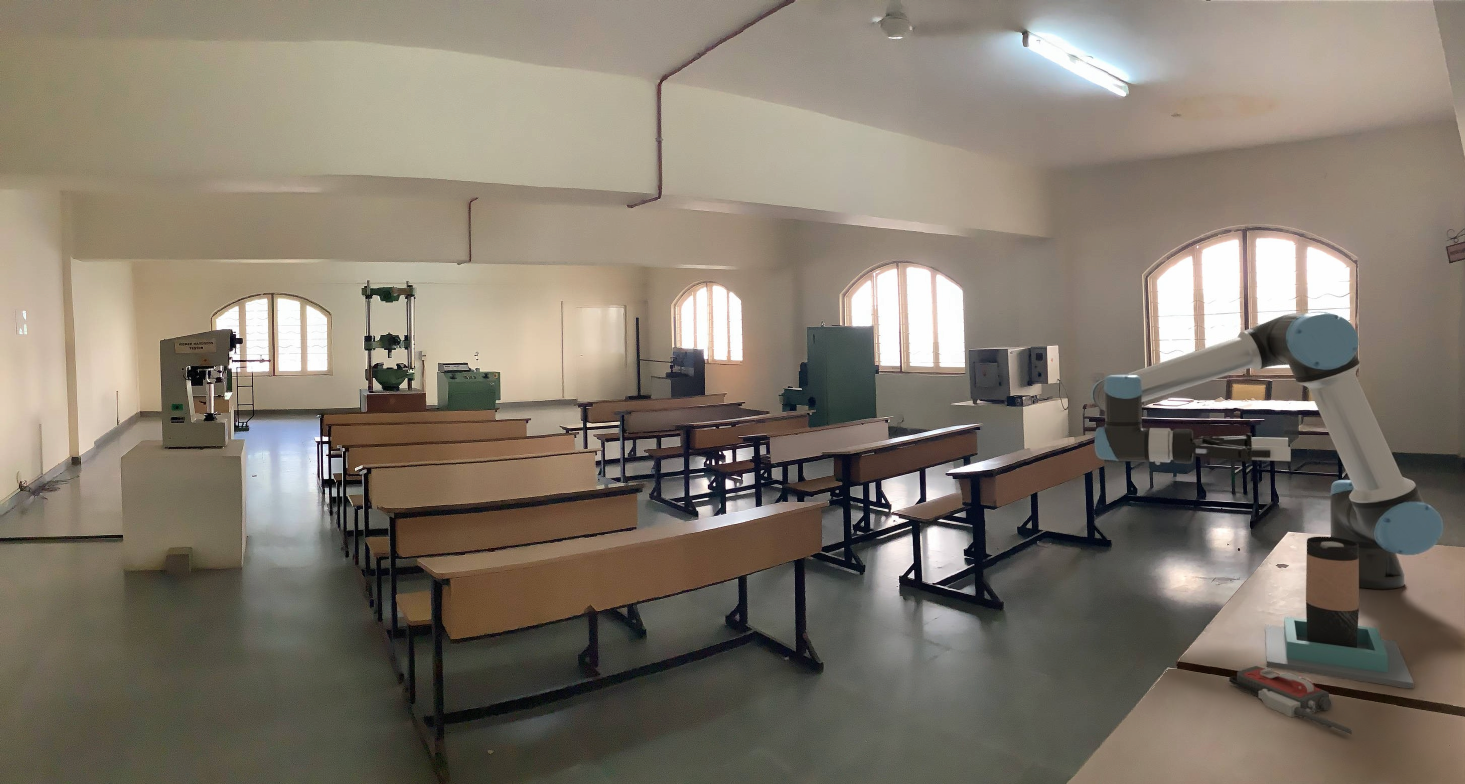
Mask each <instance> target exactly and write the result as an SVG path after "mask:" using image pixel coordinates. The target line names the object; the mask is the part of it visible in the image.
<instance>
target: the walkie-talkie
mask: <svg viewBox="0 0 1465 784" xmlns="http://www.w3.org/2000/svg"><path fill="white" fill-rule="evenodd" d="M1228 682H1229V683H1230V684H1232V685H1234V686H1236V688H1237V689H1238V690H1240V691H1243V692H1245V693H1247V694H1250V695H1252V696H1255V697H1257V698H1259V699H1261V701H1262V703H1263V704H1264V705H1265V706H1266V707H1267V708H1269V709H1272V710H1274V711H1276V712H1279V713H1281V714H1284V715H1286V716H1287V717H1289V718H1294V717H1295V718H1296V717H1300V718H1303V719H1304V718H1305V719H1307V720H1309V721H1312V722H1315V723H1316V724H1319V725H1322V726H1324V727H1327V728H1329V729H1331V728H1334V729H1337V730H1339V731H1341V732H1344V733H1346V734H1348V735H1352V732H1353V731H1352V729H1351V728H1350V727H1347V726H1344V725H1342V724H1340V723H1338V722H1335V721H1332V720H1329V719H1327V718H1325V717H1322V716H1320V715H1317V714H1314V713H1316V712H1320V711H1322V710H1323V711H1326V712H1327V711H1328V710H1330V708H1332V700H1331V698H1330V693H1329V692H1328V691H1326V690H1323V689H1321V688H1318V687H1317V686H1315V684H1314V683H1313V681H1311V680H1309V679H1307V678H1305V677H1300V676H1299V675H1296V674H1293V673H1290V672H1284V673H1278V672H1275V671H1273V668H1272V667H1267V668H1265V667H1261V666H1258V665H1254V666H1251V667H1248V668H1244V669H1239V671H1237V673H1236V676H1229V677H1228Z"/></svg>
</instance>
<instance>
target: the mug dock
mask: <svg viewBox="0 0 1465 784" xmlns="http://www.w3.org/2000/svg"><path fill="white" fill-rule="evenodd" d="M1283 619H1284V621H1283V622H1284V623H1283V624H1284V625H1283V626H1279V625H1273V624H1265V625H1264V626H1265V627H1264V628H1265V629H1264V631H1265V653H1266V657H1265V658H1266V659H1265V660H1266V667H1267V668H1271V669H1279V670H1287V671H1293V672H1294V671H1295V672H1298V673H1299V672H1300V673H1306V674H1314V675H1320V676H1324V677H1325V676H1326V677H1331V678H1332V677H1333V678H1339V679H1345V680H1351V681H1360V682H1366V683H1371V684H1377V685H1378V684H1379V685H1385V686H1390V687H1391V686H1393V687H1398V688H1403V689H1411V690H1414V689H1415V688H1414V687H1415V686H1414V685H1415V684H1414V683H1415V682H1414V681H1413V677H1412V676H1411V674H1410V671H1409V670H1408V667H1407V664H1406V662H1405V659H1404V657H1403V655H1402V652H1401V651H1400V648H1399V646H1398V644H1397V641H1396V640H1388V639H1382V637H1381V633H1380V631H1379V629H1378V628H1377V627H1371V626H1365V625H1358V637H1357V648H1352V647H1344V646H1337V645H1329V644H1322V643H1315V642H1307V619H1306V618H1299V617H1292V616H1291V617H1289V616H1284V617H1283Z"/></svg>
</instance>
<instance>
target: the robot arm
mask: <svg viewBox="0 0 1465 784" xmlns="http://www.w3.org/2000/svg"><path fill="white" fill-rule="evenodd" d="M1358 347H1359V337H1358V332H1357V330H1356V328H1355V327H1354V326H1353V324H1352V323H1351V322H1350V321H1348V320H1347V319H1346V318H1345V317H1342V316H1340V315H1338V314H1335V313H1330V312H1326V311H1311V312H1294V313H1293V312H1292V313H1288V314H1283V315H1280V316H1278V317H1276V318H1273V319H1271V320H1268V321H1266V322H1264V323H1261V324H1258V325H1256V326H1253V327H1251V328H1248V329H1245V330H1242V331H1240V332H1239V333H1238V336H1237V337H1234V338H1232V339H1228V340H1226V341H1223V342H1219V343H1217V344H1214V345H1211V346H1208V347H1204V348H1202V349H1199V350H1196V351H1192V352H1189V353H1187V354H1184V355H1183V354H1182V355H1180V356H1177V357H1174V358H1171V359H1168V360H1165V361H1161V362H1158V363H1156V364H1152V365H1150V366H1147V367H1144V368H1140V369H1137V370H1135V371H1131V372H1128V373H1126V374H1111V375H1108V376H1106V377H1105V378H1104V379H1101V380H1099V381H1098V382H1096V383H1095V384H1094V385H1093V387H1092V388H1091V393H1090V396H1091V400H1092V402H1093V403H1094V405H1096V407H1097V408H1098V409H1100V410H1102V411H1104V418H1105V420H1104V421H1105V423H1104V426H1101V427H1097V428H1096V429H1095V433H1094V434H1095V435H1094V451H1095V455H1096V457H1098V459H1100V460H1107V461H1108V460H1109V461H1116V462H1144V463H1145V462H1148V463H1150V462H1154V464H1155V465H1157V466H1158V465H1161V463H1171V461H1172V462H1173V463H1175V464H1193V461H1194V454H1195V457H1198V458H1212V459H1213V458H1214V459H1223V460H1233V461H1242V462H1245V463H1244V464H1252V461H1275V462H1276V461H1277V462H1291V458H1292V457H1291V453H1292V451H1291V447H1290V446H1289V438H1288V437H1258V436H1257V437H1256V436H1254V437H1252V433H1246V434H1245V435H1239V436H1238V435H1237V436H1235V435H1232V436H1208V435H1207V436H1199V437H1198V438H1197V439H1194V431H1193V430H1192V429H1191V428H1175V429H1173V430H1171V428H1169V427H1168V428H1167V427H1166V428H1165V427H1146V428H1145V427H1143V425H1142V424H1143V420H1142V419H1143V418H1142V417H1143V413H1142V411H1143V410H1142V403H1143V402H1147V401H1149V400H1153V399H1156V398H1159V397H1162V396H1165V395H1169V394H1171V393H1175V392H1178V391H1181V390H1184V389H1188V388H1191V387H1194V386H1197V385H1200V384H1203V383H1206V382H1210V381H1213V380H1216V379H1219V378H1223V377H1225V376H1230V375H1231V374H1236V373H1239V372H1243V371H1245V370H1248V369H1252V370H1254V371H1259V370H1262V369H1267V368H1270V367H1277V366H1288V367H1289V369H1290V370H1291V372H1292V375H1293V376H1294V377H1293V378H1294V380H1295V382H1296V383H1297V384H1299V385H1302V386H1305V387H1307V388H1308V391H1309V392H1310V394H1311V397H1312V398H1313V401H1314V403H1315V406H1316V408H1317V410H1318V413H1319V414H1320V417H1321V419H1322V421H1323V423H1324V426H1325V428H1326V429H1327V432H1328V434H1329V436H1330V438H1331V440H1332V443H1333V445H1334V447H1335V449H1336V452H1337V455H1338V456H1339V458H1340V460H1341V463H1342V465H1343V467H1344V469H1345V471H1346V474H1347V476H1348V478H1349V479H1339V480H1336V481H1333V483H1332V484H1331V487H1330V493H1329V497H1330V537H1336V538H1343V539H1348V540H1352V541H1355V542H1357V543H1358V545H1359V588H1363V589H1372V590H1373V589H1376V590H1377V589H1378V590H1389V589H1390V590H1391V589H1392V590H1393V589H1398V588H1402V587H1403V586H1405V573H1404V570H1403V568H1402V566H1401V565H1402V564H1401V563H1400V560H1399V558H1398V555H1403V556H1415V555H1420V554H1423V553H1425V552H1427V551H1429V550H1430V549H1432V548H1434V546H1436V545H1437V543H1438V541H1440V538H1441V537H1442V536H1443V535H1442V534H1443V532H1444V523H1443V518H1442V516H1441V515H1440V513H1439V512H1438V511H1437V510H1436V509H1435V508H1433V506H1431V505H1430V504H1428V503H1426V502H1424V499H1423V497H1422V495H1421V493H1420V490H1419V489H1418V486H1417V485H1416V483H1415V481H1413V480H1412V479H1409V478H1406V477H1403V475H1402V474H1401V471H1400V469H1399V467H1398V464H1397V462H1396V460H1395V458H1394V456H1393V454H1392V451H1391V449H1390V447H1389V445H1388V443H1387V440H1386V439H1385V436H1384V434H1383V432H1382V430H1381V427H1380V426H1379V423H1378V420H1377V419H1376V416H1375V413H1374V412H1373V410H1372V407H1371V405H1370V403H1369V401H1368V399H1367V397H1366V395H1365V392H1364V389H1363V388H1362V386H1361V384H1360V381H1359V380H1358V379H1359V378H1358V377H1357V375H1356V373H1357V370H1359V369H1358V368H1359V366H1360V365H1361V362H1360V360H1359V358H1358V355H1357V353H1356V352H1357V350H1358ZM1397 554H1398V555H1397Z"/></svg>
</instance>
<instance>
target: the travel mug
mask: <svg viewBox="0 0 1465 784" xmlns="http://www.w3.org/2000/svg"><path fill="white" fill-rule="evenodd" d="M1305 567H1306V569H1305V570H1306V574H1305V578H1306V579H1305V609H1306V610H1305V611H1306V612H1305V613H1306V618H1305V619H1307V642H1315V643H1322V644H1329V645H1337V646H1344V647H1352V648H1357V637H1358V626H1359V615H1360V614H1359V612H1360V597H1359V596H1360V591H1359V590H1360V587H1359V545H1358V543H1357V542H1355V541H1352V540H1348V539H1343V538H1336V537H1331V536H1312V537H1308V538H1307V539H1306V565H1305Z"/></svg>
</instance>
